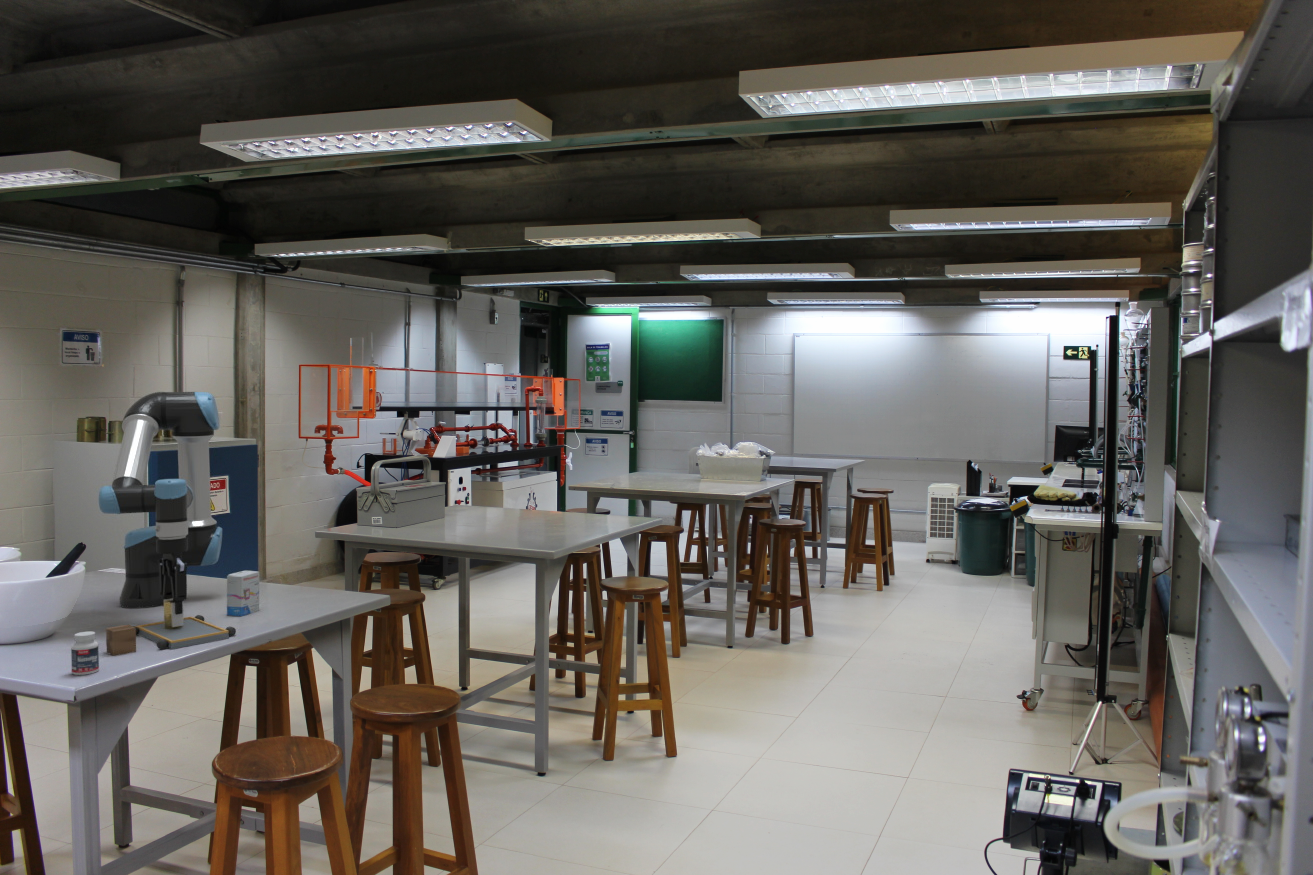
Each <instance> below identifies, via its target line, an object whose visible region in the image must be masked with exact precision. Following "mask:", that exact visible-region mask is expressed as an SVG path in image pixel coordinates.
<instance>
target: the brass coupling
mask: <svg viewBox="0 0 1313 875" xmlns="http://www.w3.org/2000/svg"><path fill="white" fill-rule="evenodd" d="M170 601H172V600H168V601H164V605H163V621H164V626H165V629H177V628H181V627H183V626H177V627H172V618H171V603H170Z"/></svg>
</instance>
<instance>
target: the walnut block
mask: <svg viewBox="0 0 1313 875" xmlns="http://www.w3.org/2000/svg"><path fill="white" fill-rule="evenodd" d="M133 626H134V625H131V624H124V625H123V624H122V625H117V626H112V627H111V626H110V627H106V628H105V637H106V640H105V641H106V642H105V643H106V653H107V654H109V655H111V656H113V657H115V656H121V655H126V654H130V653H136V652H137V635H136V628H135V627H136V626H135V627H133Z"/></svg>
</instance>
